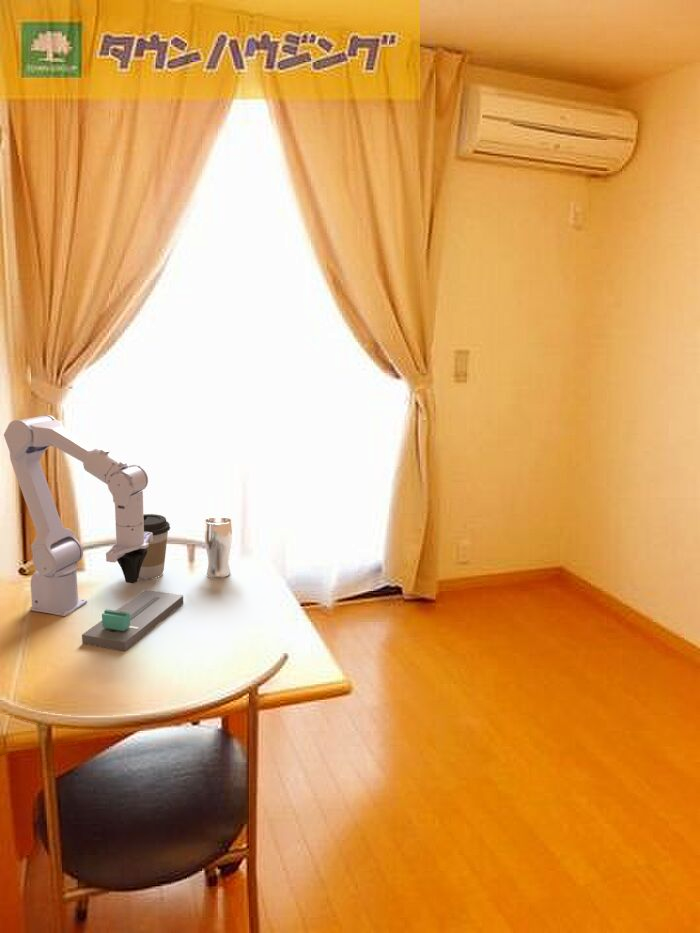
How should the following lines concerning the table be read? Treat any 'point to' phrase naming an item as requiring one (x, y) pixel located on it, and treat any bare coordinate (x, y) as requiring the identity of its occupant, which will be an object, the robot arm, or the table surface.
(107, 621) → the fader tab
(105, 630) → the fader console
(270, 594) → the table surface
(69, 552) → the robot arm
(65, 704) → the table surface
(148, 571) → the coffee cup
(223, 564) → the beer glass
